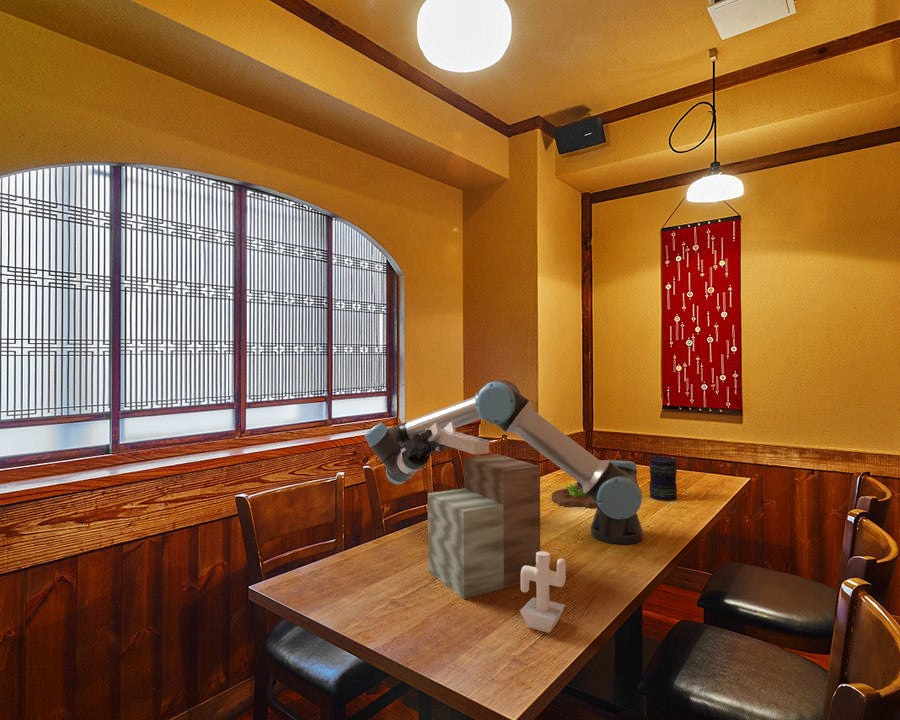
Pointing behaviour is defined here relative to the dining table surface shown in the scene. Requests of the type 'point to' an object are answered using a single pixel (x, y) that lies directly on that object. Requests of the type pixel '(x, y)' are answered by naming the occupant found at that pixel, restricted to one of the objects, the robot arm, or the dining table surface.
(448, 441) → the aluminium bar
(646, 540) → the dining table surface
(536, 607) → the figurine
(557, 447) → the robot arm
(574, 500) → the plant
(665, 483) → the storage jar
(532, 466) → the two-step stand
